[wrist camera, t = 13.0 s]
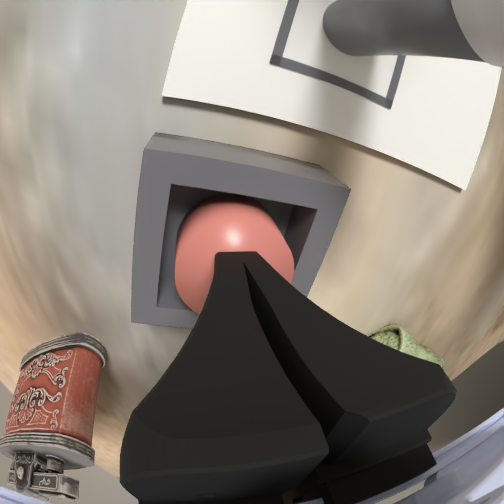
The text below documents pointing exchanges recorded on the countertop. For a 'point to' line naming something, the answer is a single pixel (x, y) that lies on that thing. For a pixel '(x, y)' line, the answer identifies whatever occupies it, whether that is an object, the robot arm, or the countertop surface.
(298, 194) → the button housing
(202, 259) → the button
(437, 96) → the paper sheet
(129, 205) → the countertop surface
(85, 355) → the lighter
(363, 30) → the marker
